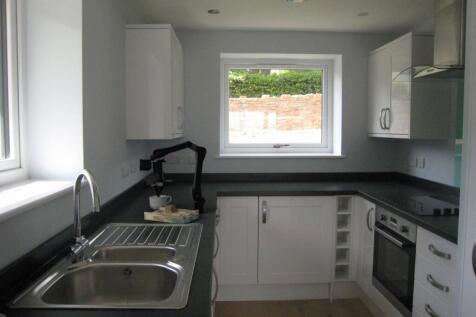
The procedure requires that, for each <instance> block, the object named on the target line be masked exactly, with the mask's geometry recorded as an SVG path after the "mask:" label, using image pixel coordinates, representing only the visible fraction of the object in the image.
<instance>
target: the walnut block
mask: <svg viewBox="0 0 476 317" xmlns="http://www.w3.org/2000/svg"><path fill="white" fill-rule="evenodd" d="M175 209H176V205H175V204H167V205H166V206H165V213H170V214H172V213H174V212H175Z"/></svg>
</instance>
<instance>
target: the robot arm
mask: <svg viewBox="0 0 476 317" xmlns="http://www.w3.org/2000/svg"><path fill="white" fill-rule="evenodd" d="M185 149H188V150H191V151H193V152H194V157H195V167H194V175H193V176H194V178H193V184H192V186H190V187H189V192H188V194H189V197H190V198H191V199H192V200H193V201H194V202H193V203H194V209H193V210H199V215H201V214H204V213H206V212H207V210H205V203H206V201H207V200H206V199H205V197H204V196H203V194H202V193H203V192H202V176H203V164H204V161H205V158H206V156H207V154H208V153H207V148H206V147H205V146H200V145H198V144H196V143H193V142H192V141H190V140H186V141H183V142H179V143H177V144H174V145H171V146H170V145H169V146H167V147H156V148H153V149H152V151H151V155H150V156H149V158H139V161H138V162H139V163H138V170H139V172H150V171H151V170H152V172H151V173H150V176H148V177H147V178H145V179H143V180H142V183H141V184H142V185H143V186H145V185H146V186H148V185H150V188H152V189H153V190H154V192H155V194H156V195H155V196H157V197H160V195H162V193H163V190H164V188H165V187H171V186H175V181H174V180H173V179H168V180H167V179H166V180H165V178H164V174H165V171H164V167H163V166H164V163H167V160H165V159H164V158H163V157H166V156H167V155H169V154H172V153H176V152H178V151H181V150H182V151H183V150H185Z"/></svg>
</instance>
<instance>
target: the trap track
mask: <svg viewBox="0 0 476 317" xmlns="http://www.w3.org/2000/svg"><path fill="white" fill-rule="evenodd" d="M143 214H144V215H143V216H144V218H143V219H144V220H146V221H156V222H164V223H171V224H172V223H174V224H178V225H179V224H180V225H186V224H188V223H191V222H192V221H196V220H197V219H199V218H200V214H199V210H194V209H185V208H175V212H174V213H172V214H170V213H165V207H159V209H157V210H154V211H152V212H149V211H144V212H143ZM185 223H186V224H185Z"/></svg>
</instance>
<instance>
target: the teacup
mask: <svg viewBox="0 0 476 317" xmlns="http://www.w3.org/2000/svg"><path fill="white" fill-rule="evenodd" d="M168 198H169V201H168ZM171 202H172V196H171V195H162V194H161V195H160V197H157V195H152V196H149V206H150V208H151V209H152V210H159V207H165V206H167V205H169V204H170V203H171Z"/></svg>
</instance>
